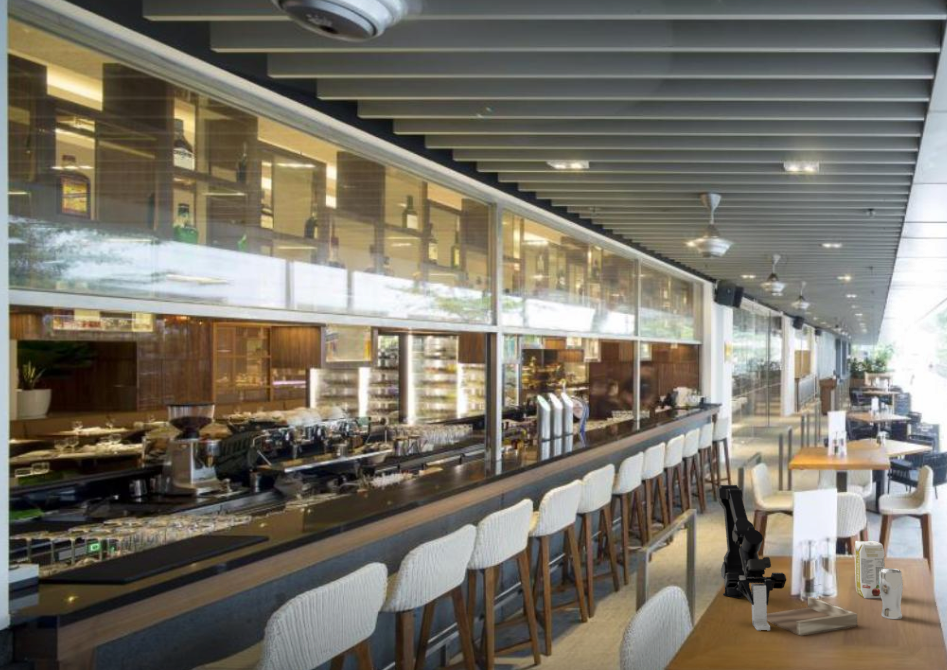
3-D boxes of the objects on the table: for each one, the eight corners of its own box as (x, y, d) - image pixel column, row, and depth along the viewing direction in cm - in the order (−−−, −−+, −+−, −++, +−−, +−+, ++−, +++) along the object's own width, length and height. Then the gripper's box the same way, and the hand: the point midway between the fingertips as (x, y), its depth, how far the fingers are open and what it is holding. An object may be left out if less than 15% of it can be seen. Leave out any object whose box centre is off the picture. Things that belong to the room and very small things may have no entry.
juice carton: (887, 599, 288) (886, 544, 289) (863, 599, 288) (861, 544, 289) (877, 592, 296) (876, 539, 296) (853, 593, 296) (852, 540, 296)
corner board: (757, 616, 271) (756, 604, 271) (811, 608, 279) (811, 596, 279) (800, 635, 252) (799, 622, 252) (857, 626, 260) (857, 613, 260)
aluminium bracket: (752, 624, 264) (751, 583, 264) (765, 624, 264) (763, 583, 264) (757, 630, 258) (756, 588, 258) (770, 630, 258) (769, 588, 258)
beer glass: (879, 618, 268) (878, 571, 268) (880, 612, 274) (878, 566, 274) (903, 621, 264) (902, 574, 265) (903, 614, 271) (902, 569, 271)
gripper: (725, 547, 268) (733, 591, 257) (783, 547, 266) (795, 591, 255) (720, 565, 275) (728, 609, 264) (777, 566, 274) (788, 609, 263)
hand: (760, 604), depth 261 cm, fingers closed on aluminium bracket, 4 cm apart
